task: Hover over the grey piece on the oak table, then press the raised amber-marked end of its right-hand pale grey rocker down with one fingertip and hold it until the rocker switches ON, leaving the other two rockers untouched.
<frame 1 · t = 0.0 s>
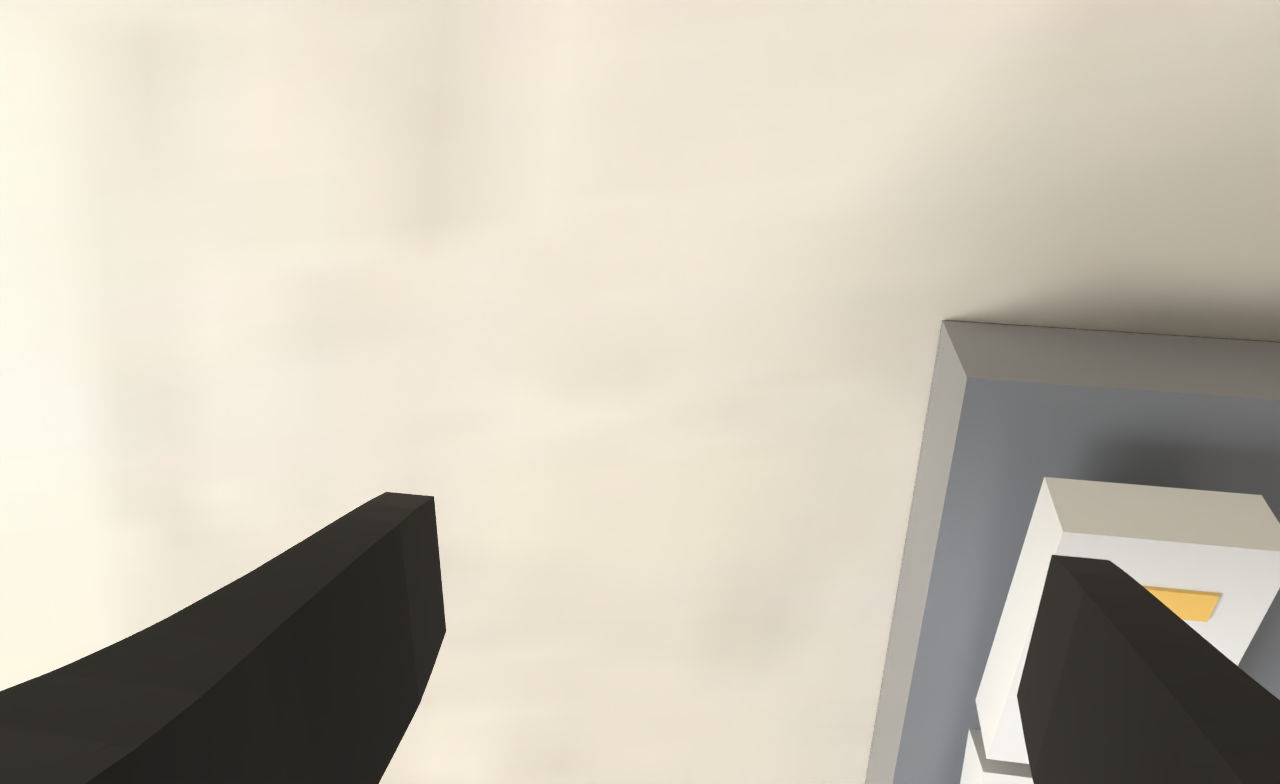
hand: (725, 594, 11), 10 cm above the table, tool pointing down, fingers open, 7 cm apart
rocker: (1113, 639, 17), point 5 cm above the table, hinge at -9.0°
grey piece: (1076, 737, 23), on the table
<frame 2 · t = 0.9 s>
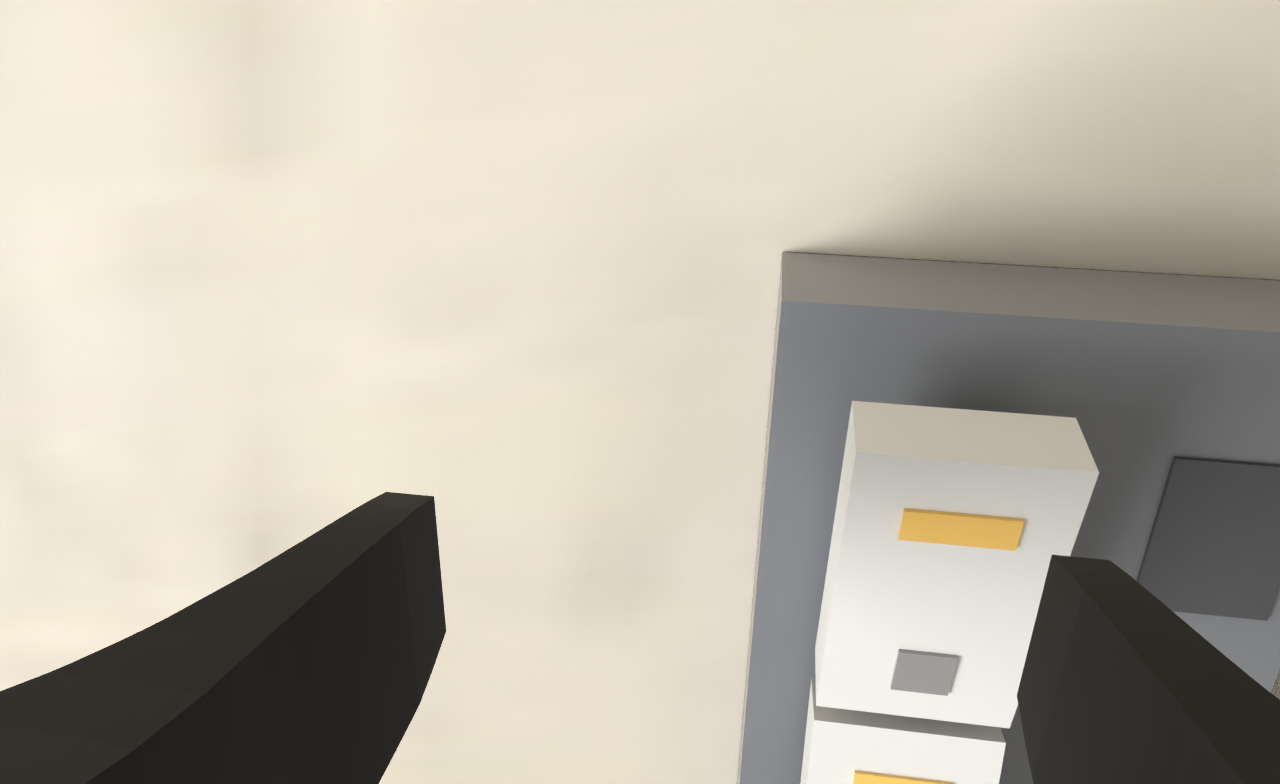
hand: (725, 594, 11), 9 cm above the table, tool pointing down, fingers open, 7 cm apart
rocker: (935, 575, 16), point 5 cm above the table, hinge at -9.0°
grey piece: (949, 696, 23), on the table
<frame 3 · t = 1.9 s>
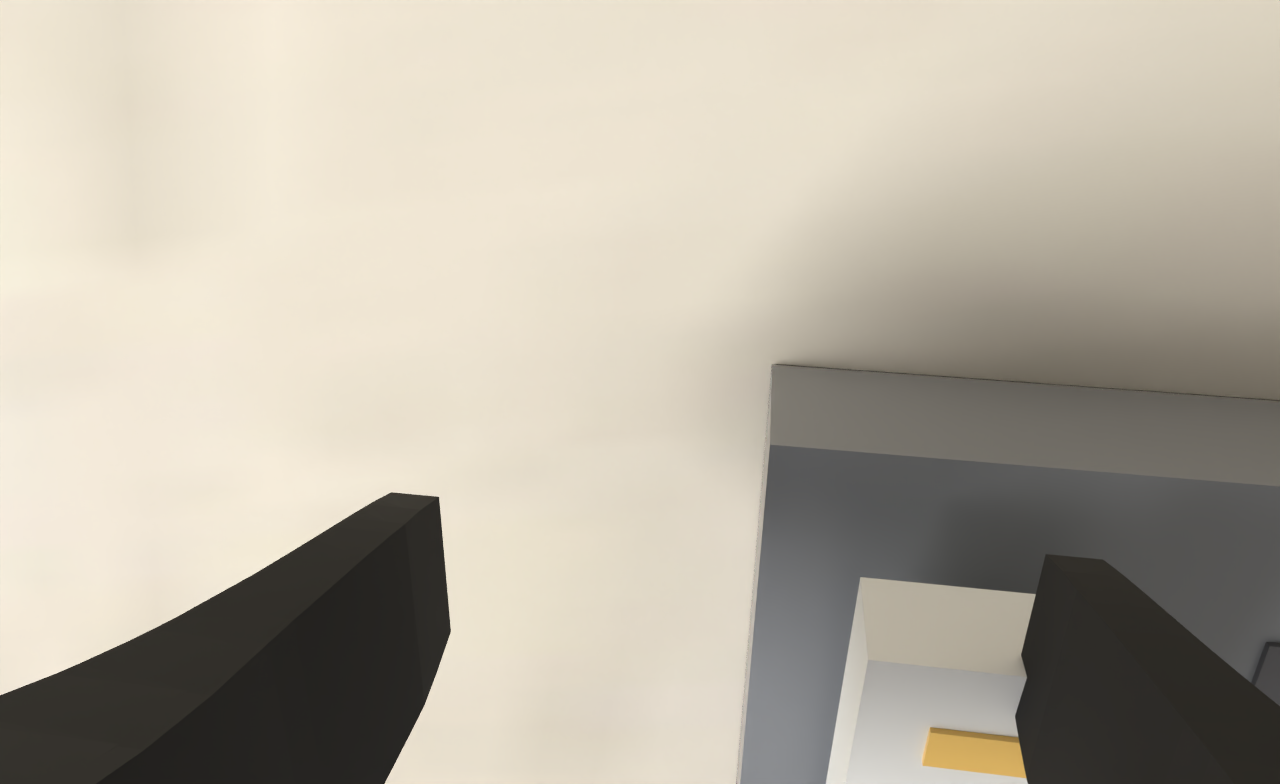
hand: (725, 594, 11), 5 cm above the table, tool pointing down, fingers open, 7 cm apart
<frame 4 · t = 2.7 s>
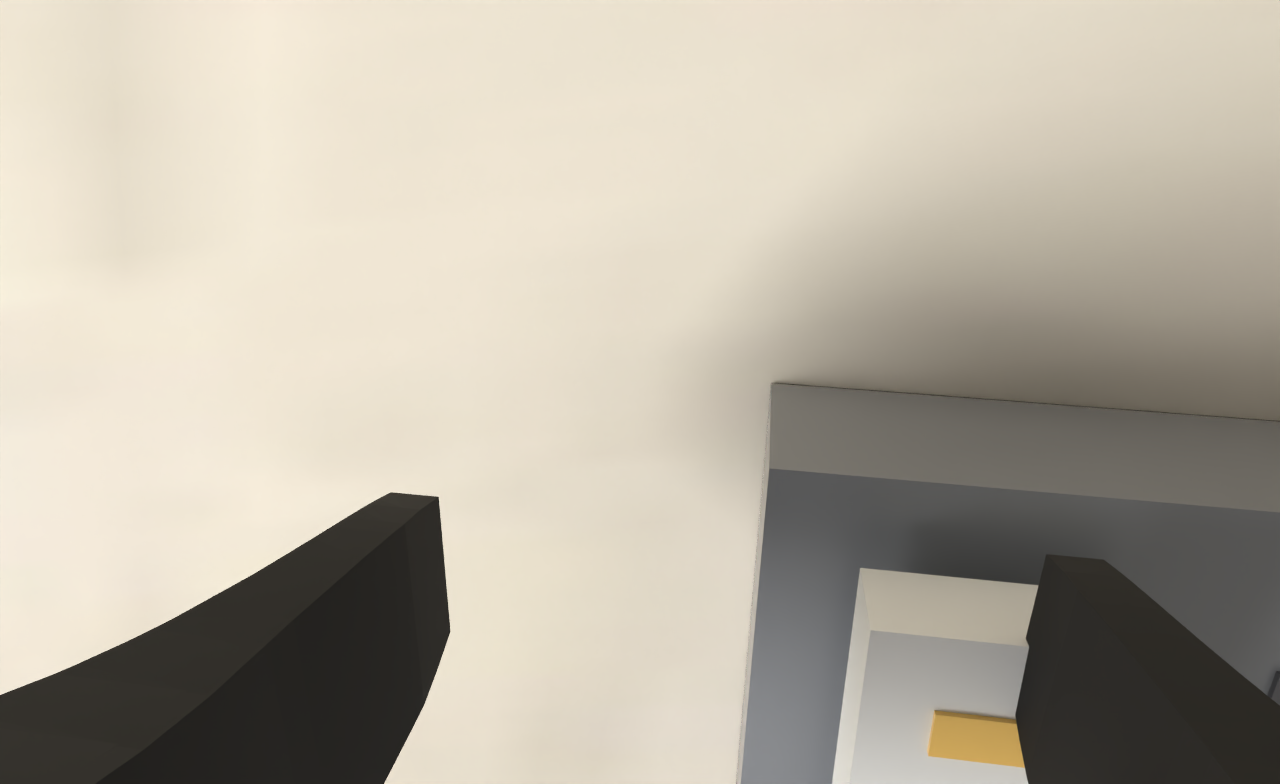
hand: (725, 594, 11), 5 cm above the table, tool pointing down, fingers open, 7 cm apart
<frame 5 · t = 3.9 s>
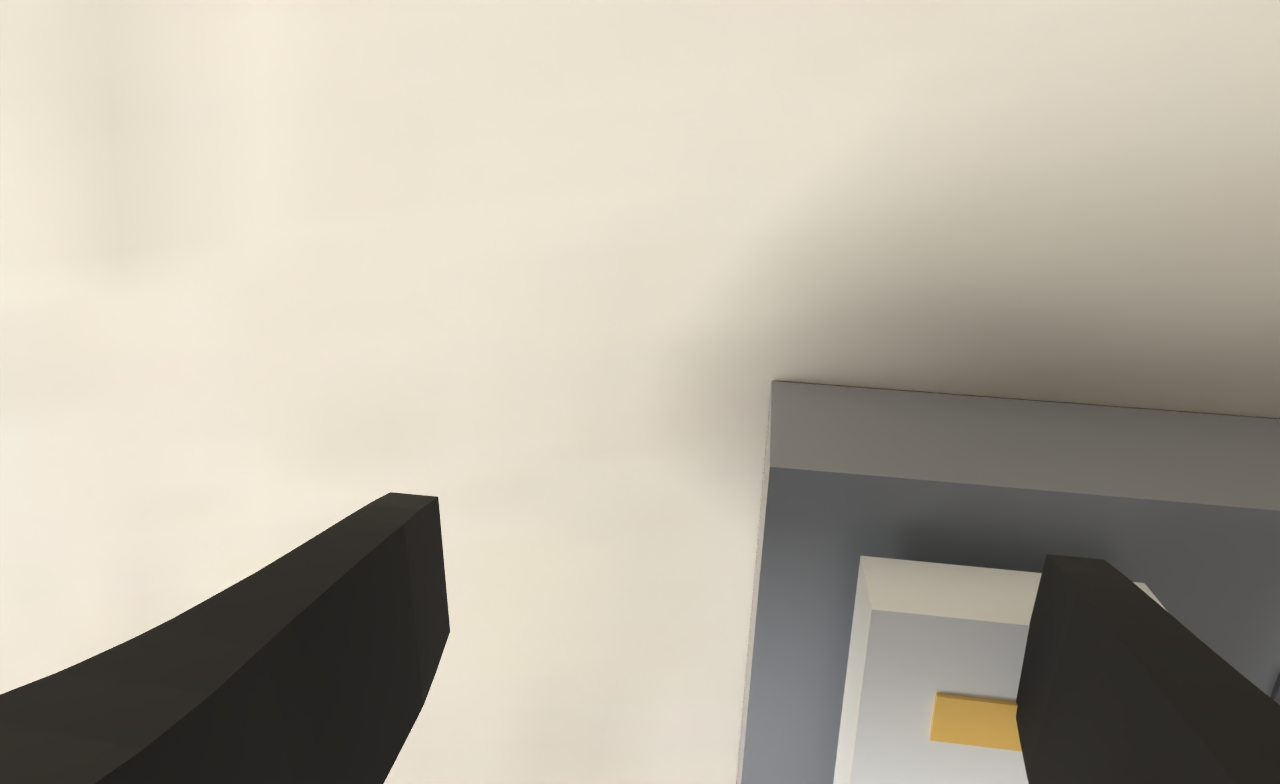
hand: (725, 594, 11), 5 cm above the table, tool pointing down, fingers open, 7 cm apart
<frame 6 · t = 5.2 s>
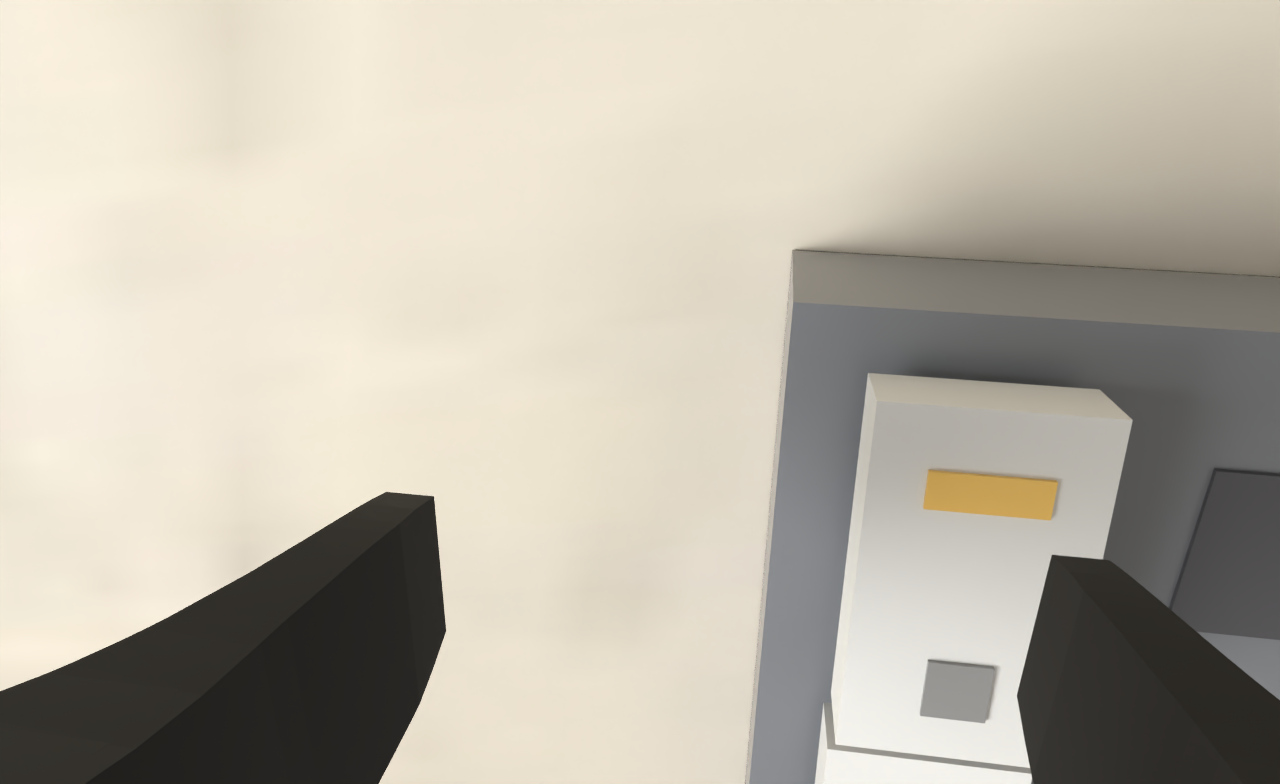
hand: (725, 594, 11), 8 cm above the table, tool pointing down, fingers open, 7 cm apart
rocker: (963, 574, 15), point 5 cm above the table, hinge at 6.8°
grey piece: (967, 716, 22), on the table
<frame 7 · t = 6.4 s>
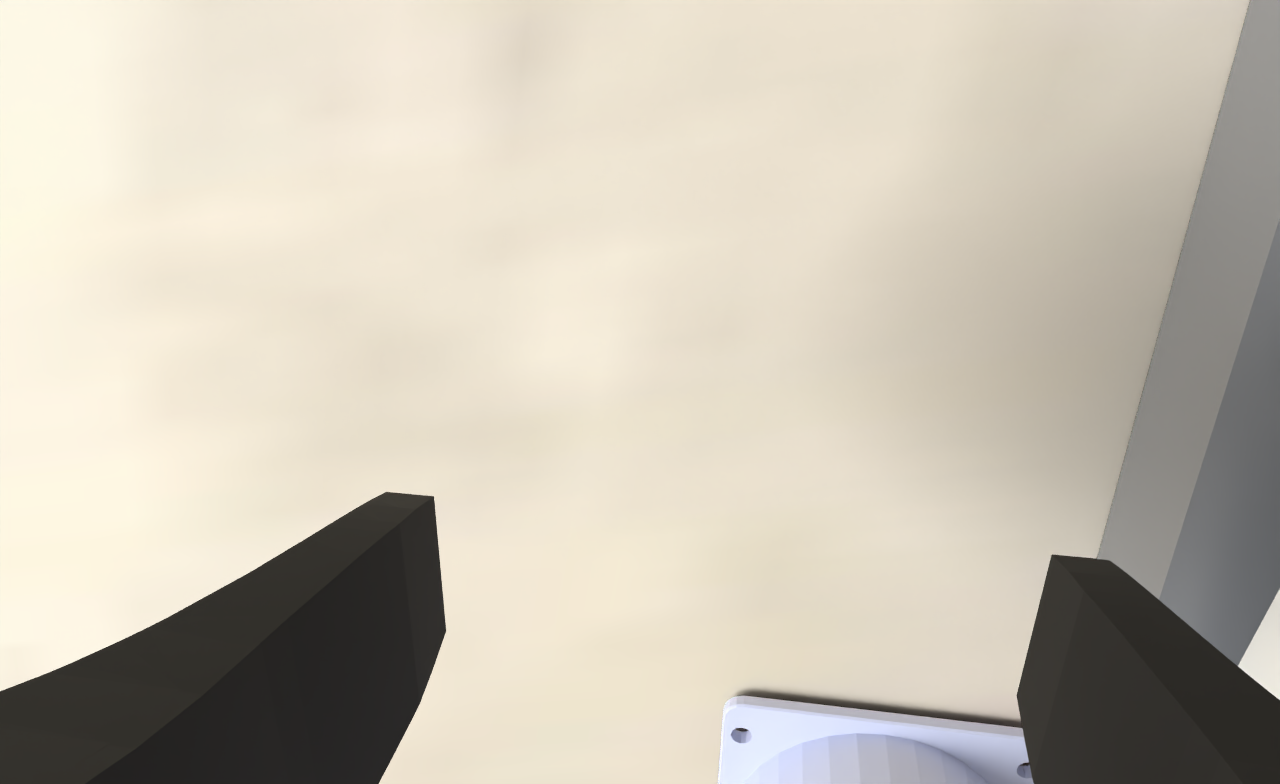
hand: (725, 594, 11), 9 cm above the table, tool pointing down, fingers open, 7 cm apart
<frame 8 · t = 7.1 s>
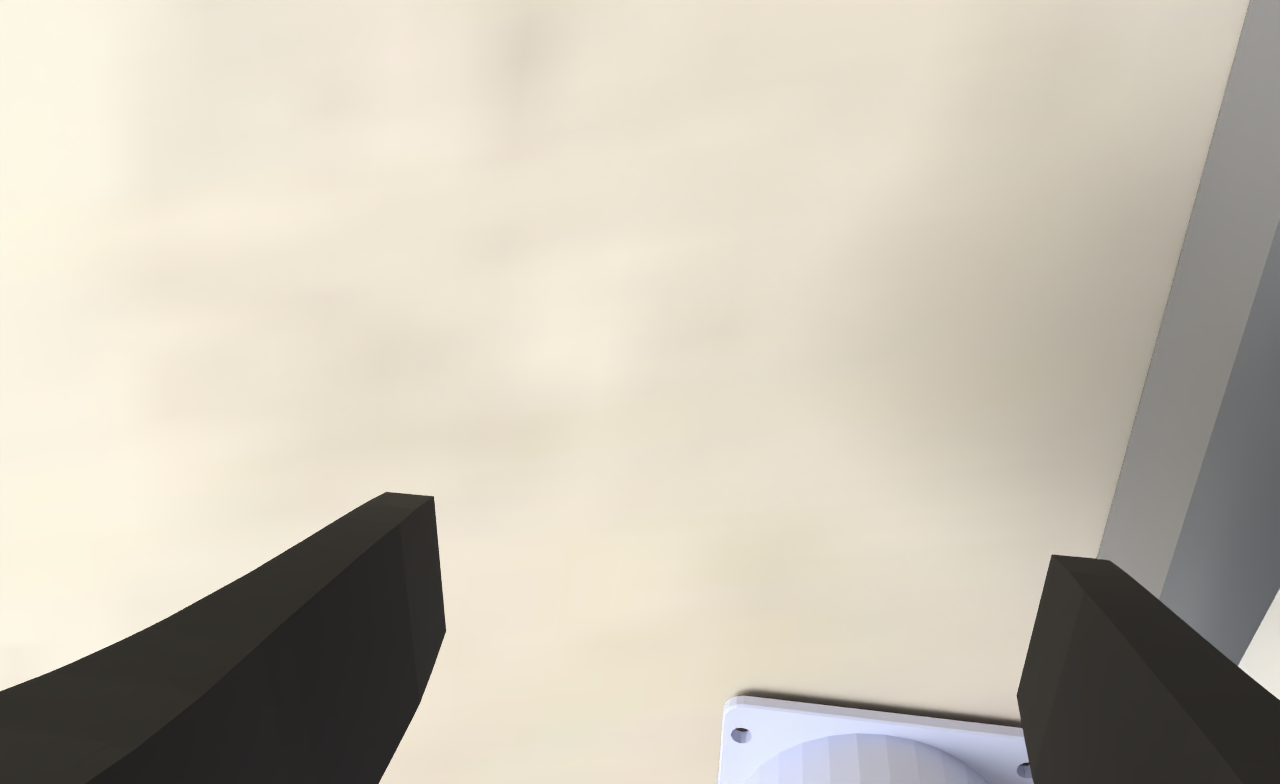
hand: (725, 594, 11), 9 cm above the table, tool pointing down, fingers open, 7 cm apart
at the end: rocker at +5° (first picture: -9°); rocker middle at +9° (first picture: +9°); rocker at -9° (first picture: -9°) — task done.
